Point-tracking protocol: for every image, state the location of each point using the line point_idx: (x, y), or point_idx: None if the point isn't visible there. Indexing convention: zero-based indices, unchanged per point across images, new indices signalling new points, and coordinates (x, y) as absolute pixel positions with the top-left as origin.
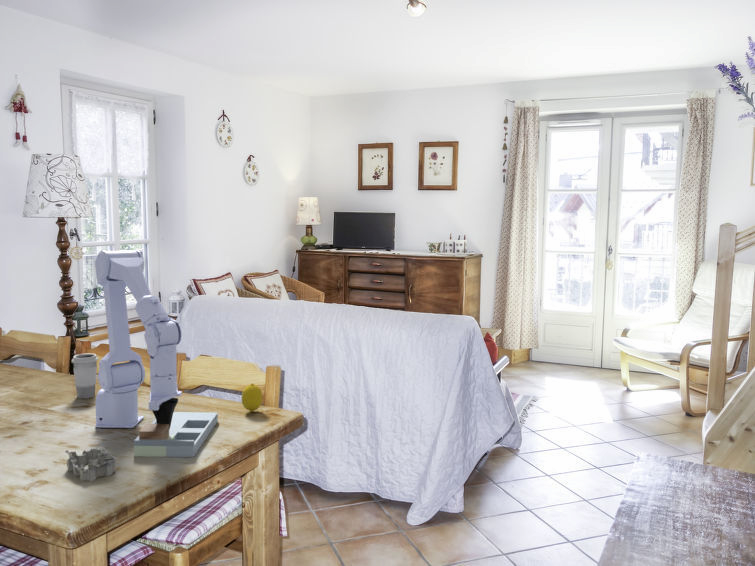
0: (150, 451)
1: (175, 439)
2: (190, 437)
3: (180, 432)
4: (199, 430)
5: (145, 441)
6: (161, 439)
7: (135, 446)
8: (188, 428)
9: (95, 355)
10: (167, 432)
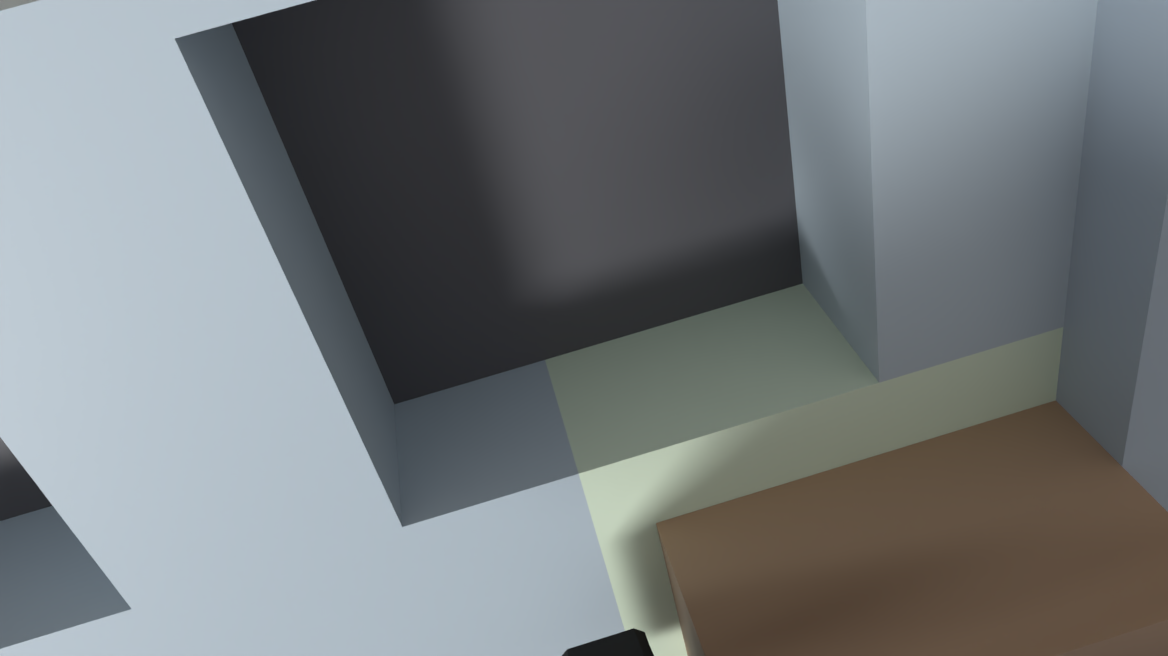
0: None
1: (534, 419)
2: (301, 242)
3: (379, 482)
4: (44, 177)
5: None
6: (1122, 475)
7: None
8: (72, 483)
9: None
10: (796, 584)
